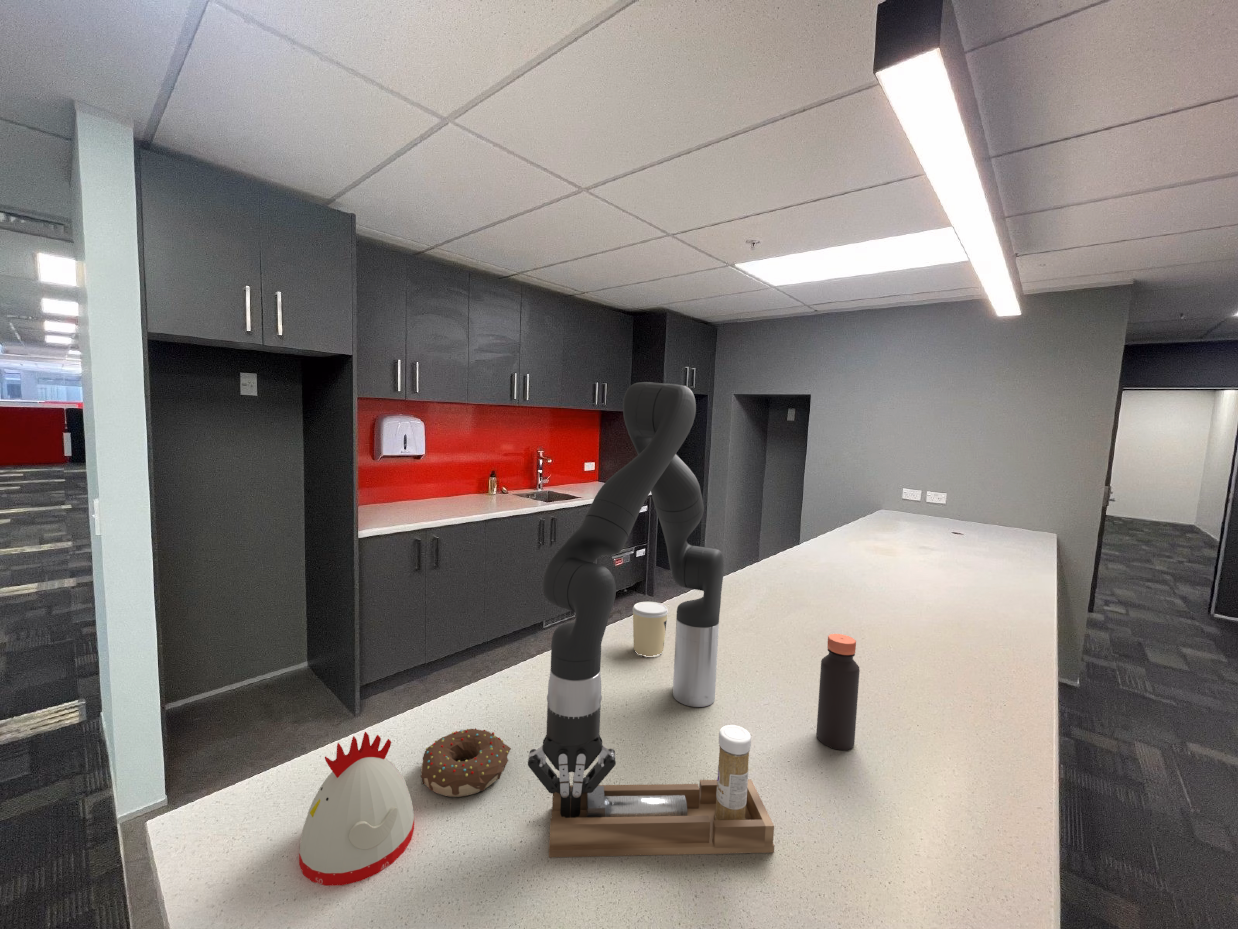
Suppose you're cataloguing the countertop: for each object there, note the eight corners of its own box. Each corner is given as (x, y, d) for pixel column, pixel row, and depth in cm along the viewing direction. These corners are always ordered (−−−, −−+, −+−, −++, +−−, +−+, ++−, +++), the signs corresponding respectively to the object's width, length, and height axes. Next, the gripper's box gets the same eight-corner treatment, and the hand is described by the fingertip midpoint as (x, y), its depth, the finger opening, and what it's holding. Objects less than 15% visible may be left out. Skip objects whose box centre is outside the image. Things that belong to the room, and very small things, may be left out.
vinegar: (808, 733, 99) (814, 633, 98) (835, 727, 101) (842, 630, 100) (834, 754, 92) (841, 648, 91) (862, 747, 95) (870, 643, 94)
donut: (416, 813, 75) (417, 780, 74) (423, 755, 88) (424, 727, 87) (514, 796, 79) (515, 765, 78) (507, 744, 92) (508, 717, 92)
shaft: (586, 812, 74) (587, 786, 74) (681, 810, 76) (682, 784, 75) (586, 835, 70) (587, 808, 70) (687, 833, 71) (688, 806, 71)
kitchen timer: (288, 837, 69) (288, 731, 68) (391, 790, 79) (393, 697, 78) (316, 908, 59) (316, 785, 58) (430, 844, 69) (432, 738, 68)
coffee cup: (672, 656, 131) (674, 611, 130) (639, 661, 127) (641, 614, 127) (656, 642, 139) (658, 599, 139) (625, 646, 136) (627, 602, 135)
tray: (552, 806, 77) (553, 781, 76) (751, 804, 79) (753, 779, 79) (548, 858, 67) (549, 830, 67) (774, 853, 70) (776, 826, 69)
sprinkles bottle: (710, 810, 76) (715, 723, 75) (739, 808, 76) (744, 723, 76) (719, 834, 71) (724, 742, 71) (750, 832, 72) (756, 741, 71)
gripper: (619, 687, 75) (614, 797, 76) (530, 686, 74) (526, 798, 76) (623, 715, 68) (617, 837, 69) (523, 714, 67) (520, 838, 68)
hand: (569, 816), depth 72 cm, fingers closed
